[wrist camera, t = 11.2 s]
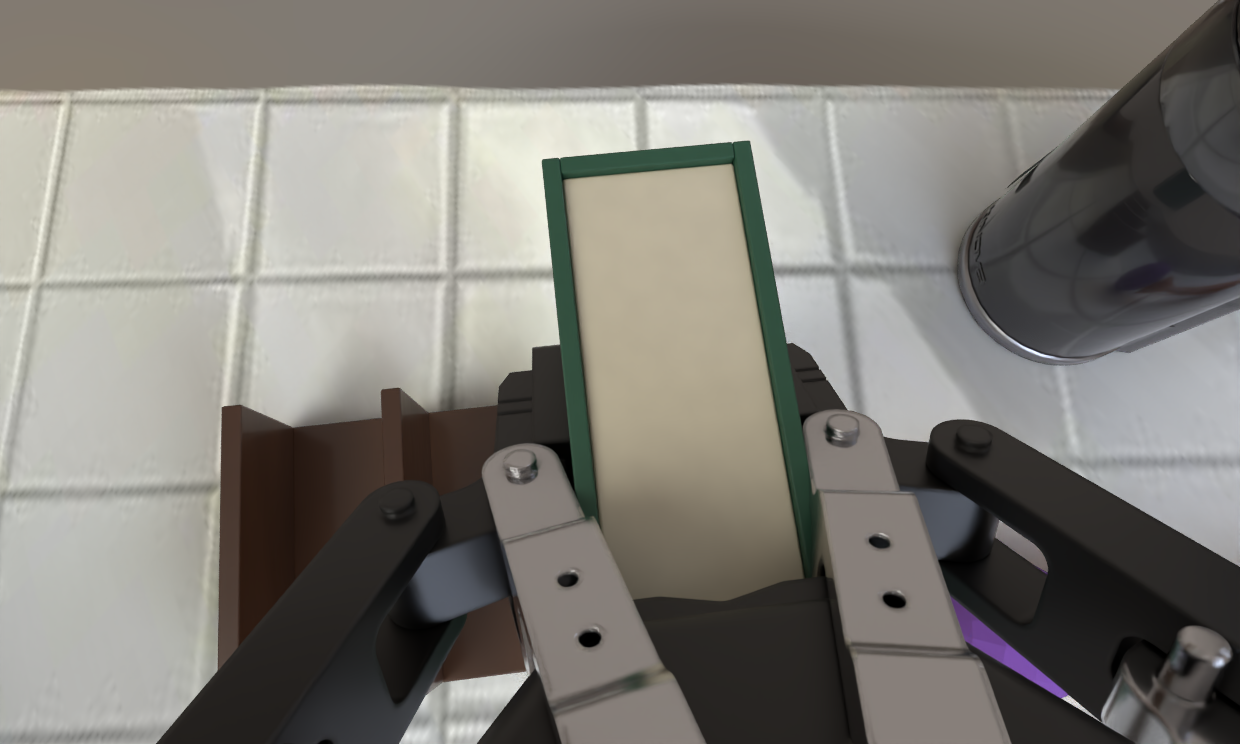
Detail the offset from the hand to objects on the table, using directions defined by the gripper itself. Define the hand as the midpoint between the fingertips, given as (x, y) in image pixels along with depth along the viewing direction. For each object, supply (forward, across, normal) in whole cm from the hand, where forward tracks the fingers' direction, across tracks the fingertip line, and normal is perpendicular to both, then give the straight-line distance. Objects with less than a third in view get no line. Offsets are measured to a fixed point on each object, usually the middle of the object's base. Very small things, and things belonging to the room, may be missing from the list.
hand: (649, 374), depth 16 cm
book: (+5, 0, +8) cm, 10 cm away
